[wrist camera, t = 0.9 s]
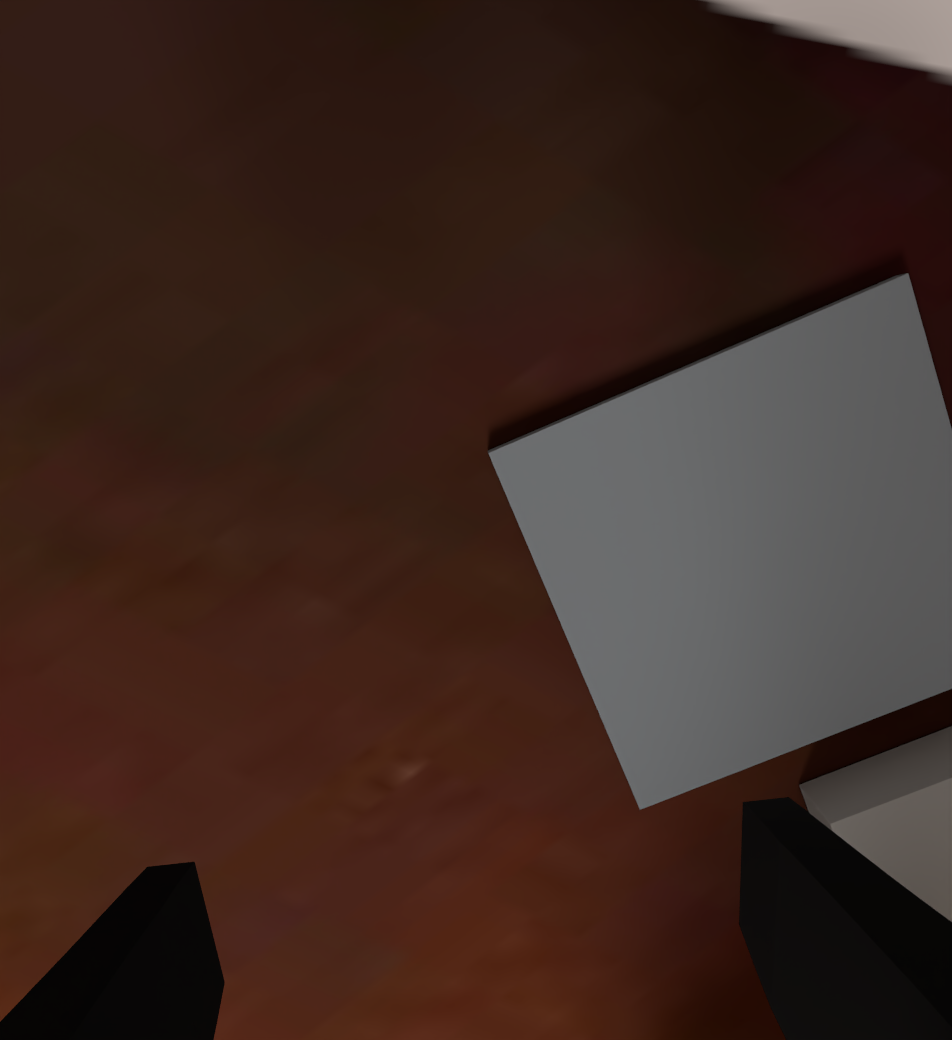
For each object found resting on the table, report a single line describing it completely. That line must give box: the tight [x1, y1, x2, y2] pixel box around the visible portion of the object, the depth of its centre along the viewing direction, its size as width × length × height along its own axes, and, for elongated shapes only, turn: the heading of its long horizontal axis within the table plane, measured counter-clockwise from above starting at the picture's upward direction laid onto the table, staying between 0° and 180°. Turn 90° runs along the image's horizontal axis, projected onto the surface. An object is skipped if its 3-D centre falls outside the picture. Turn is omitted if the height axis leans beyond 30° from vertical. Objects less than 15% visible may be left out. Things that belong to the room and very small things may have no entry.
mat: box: [488, 273, 952, 810], centre depth 19 cm, size 11×11×1 cm
